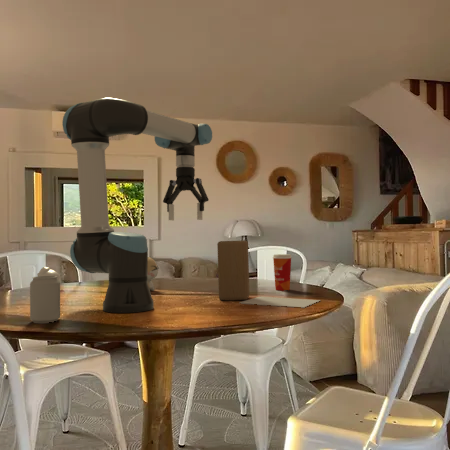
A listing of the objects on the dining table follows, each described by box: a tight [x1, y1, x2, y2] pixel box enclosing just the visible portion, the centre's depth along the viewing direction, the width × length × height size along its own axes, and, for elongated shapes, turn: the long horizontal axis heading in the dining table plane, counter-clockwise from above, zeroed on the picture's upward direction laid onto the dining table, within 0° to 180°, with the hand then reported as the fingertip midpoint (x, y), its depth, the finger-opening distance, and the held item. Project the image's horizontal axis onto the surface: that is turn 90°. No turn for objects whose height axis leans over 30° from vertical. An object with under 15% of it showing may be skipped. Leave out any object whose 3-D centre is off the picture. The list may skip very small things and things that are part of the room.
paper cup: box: [272, 253, 293, 292], centre depth 188 cm, size 8×8×14 cm
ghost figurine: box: [36, 266, 62, 284], centre depth 190 cm, size 9×10×10 cm
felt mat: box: [239, 295, 321, 309], centre depth 155 cm, size 16×22×1 cm
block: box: [216, 239, 251, 301], centre depth 164 cm, size 10×10×20 cm
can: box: [29, 276, 61, 324], centre depth 126 cm, size 8×8×12 cm
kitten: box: [147, 256, 160, 292], centre depth 189 cm, size 15×10×15 cm
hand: (185, 220), depth 191 cm, fingers open, 13 cm apart
